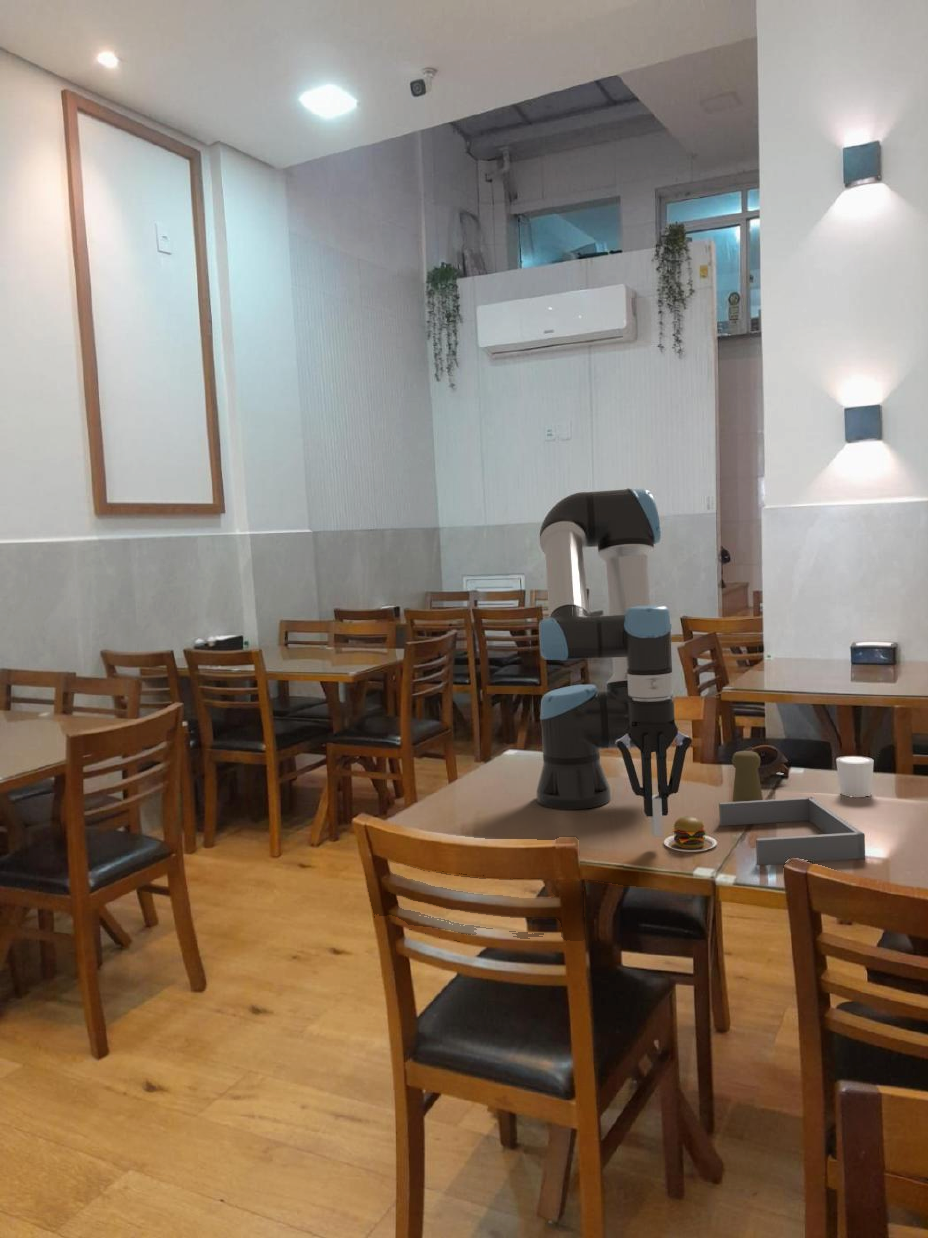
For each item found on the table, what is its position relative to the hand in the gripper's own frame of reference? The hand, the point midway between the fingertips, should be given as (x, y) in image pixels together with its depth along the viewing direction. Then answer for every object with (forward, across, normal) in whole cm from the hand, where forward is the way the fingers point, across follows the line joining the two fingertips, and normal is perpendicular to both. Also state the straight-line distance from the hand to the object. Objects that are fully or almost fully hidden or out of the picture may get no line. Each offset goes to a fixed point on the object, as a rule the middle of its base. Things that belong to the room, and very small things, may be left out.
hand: (657, 834), depth 158 cm
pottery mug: (+3, +31, +42) cm, 52 cm away
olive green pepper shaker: (+3, +22, +20) cm, 30 cm away
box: (+3, +22, 0) cm, 22 cm away
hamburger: (+3, +6, +1) cm, 7 cm away
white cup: (+3, +44, +26) cm, 51 cm away
